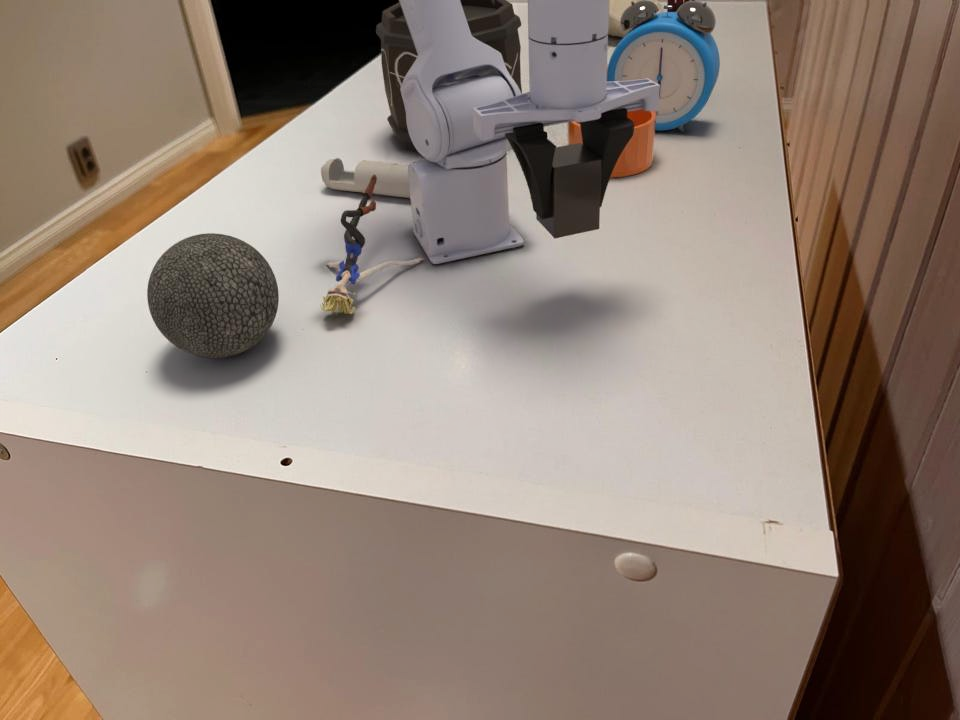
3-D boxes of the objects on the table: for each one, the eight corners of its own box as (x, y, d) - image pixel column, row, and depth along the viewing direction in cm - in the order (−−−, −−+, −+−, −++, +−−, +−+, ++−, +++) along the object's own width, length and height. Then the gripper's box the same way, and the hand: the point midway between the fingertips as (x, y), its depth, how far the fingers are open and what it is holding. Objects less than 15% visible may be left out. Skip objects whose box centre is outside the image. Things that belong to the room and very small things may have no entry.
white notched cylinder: (315, 195, 90) (304, 140, 86) (336, 179, 93) (326, 125, 89) (459, 212, 84) (454, 153, 80) (475, 194, 87) (471, 137, 83)
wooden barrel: (380, 164, 96) (361, 30, 87) (397, 115, 111) (382, -4, 101) (525, 157, 95) (521, 21, 86) (523, 109, 109) (520, -13, 100)
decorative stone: (678, 12, 127) (591, -20, 127) (655, 65, 132) (572, 35, 132) (678, -14, 145) (602, -42, 145) (658, 34, 150) (585, 7, 150)
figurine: (309, 383, 72) (372, 234, 83) (384, 372, 67) (440, 216, 79) (235, 311, 65) (316, 160, 77) (313, 294, 61) (386, 136, 72)
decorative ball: (253, 390, 60) (220, 278, 54) (143, 375, 63) (101, 266, 57) (309, 320, 68) (286, 216, 62) (210, 309, 70) (178, 208, 65)
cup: (589, 183, 88) (590, 136, 84) (554, 153, 95) (554, 109, 92) (668, 168, 90) (672, 121, 87) (628, 140, 98) (630, 96, 94)
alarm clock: (604, 129, 101) (608, 5, 92) (615, 113, 106) (620, -6, 97) (706, 136, 97) (721, 8, 88) (714, 120, 101) (728, -4, 93)
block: (554, 239, 63) (554, 168, 59) (535, 219, 66) (534, 150, 62) (599, 229, 64) (602, 159, 60) (579, 210, 67) (580, 142, 63)
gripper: (491, 63, 51) (500, 247, 59) (686, 32, 54) (670, 210, 62) (459, 39, 57) (471, 210, 65) (638, 12, 60) (629, 179, 68)
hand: (566, 208), depth 64 cm, fingers closed on block, 4 cm apart
